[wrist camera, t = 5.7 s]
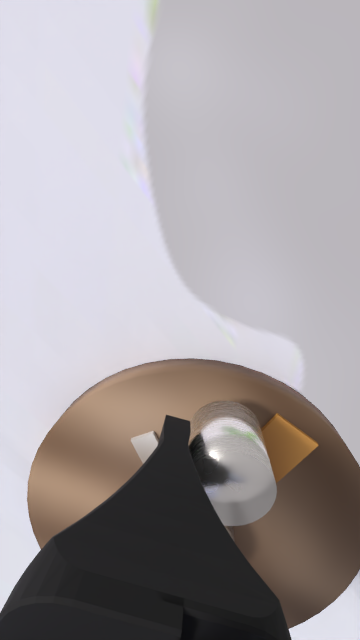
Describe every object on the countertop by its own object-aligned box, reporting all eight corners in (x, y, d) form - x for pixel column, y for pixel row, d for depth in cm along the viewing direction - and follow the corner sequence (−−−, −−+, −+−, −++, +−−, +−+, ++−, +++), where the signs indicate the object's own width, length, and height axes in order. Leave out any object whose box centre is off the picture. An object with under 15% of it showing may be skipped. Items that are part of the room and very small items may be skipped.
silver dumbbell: (222, 572, 16) (227, 675, 12) (142, 553, 16) (123, 649, 12) (281, 401, 13) (311, 469, 9) (182, 379, 13) (172, 437, 9)
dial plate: (217, 650, 20) (218, 686, 19) (-8, 511, 19) (-29, 537, 17) (432, 493, 16) (459, 523, 14) (156, 285, 14) (149, 292, 12)
